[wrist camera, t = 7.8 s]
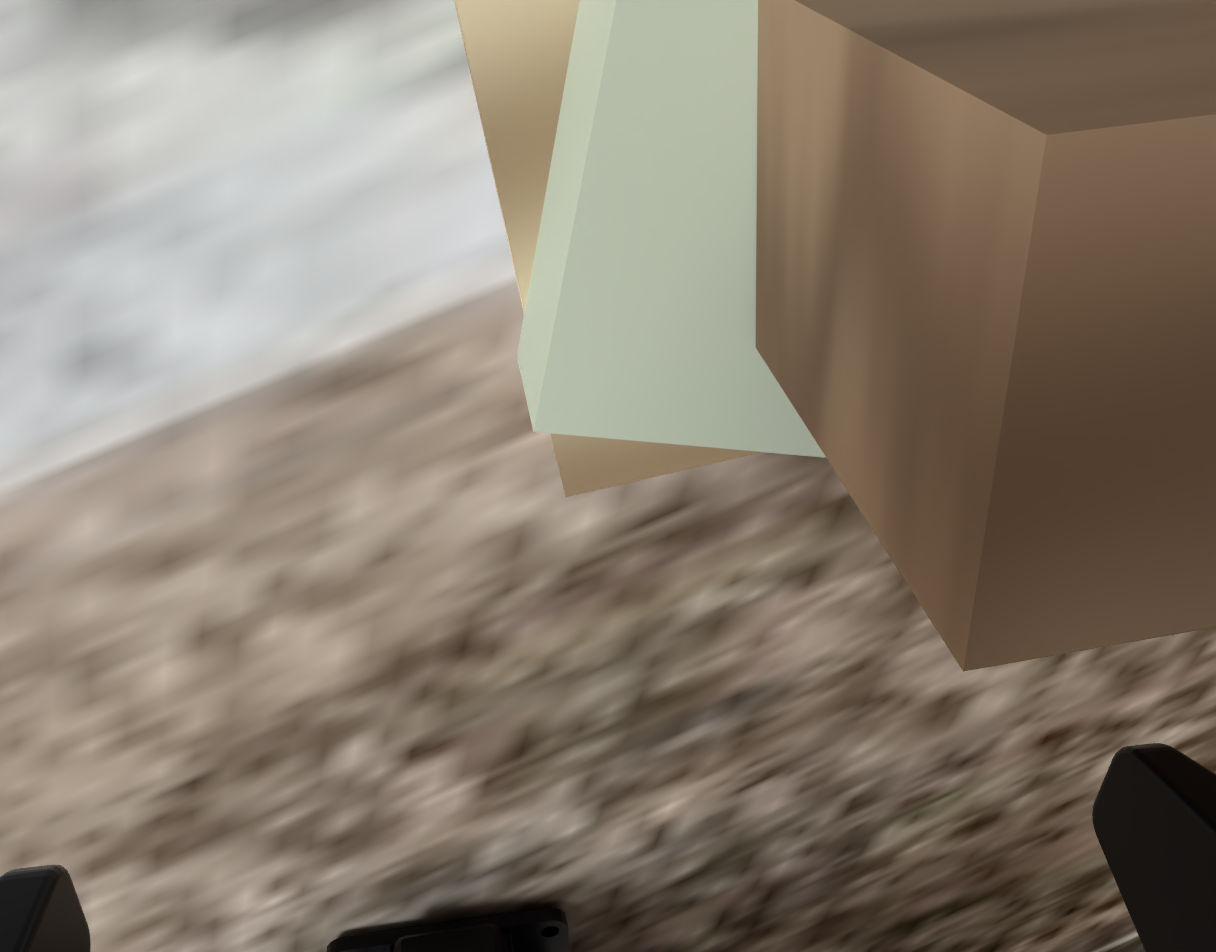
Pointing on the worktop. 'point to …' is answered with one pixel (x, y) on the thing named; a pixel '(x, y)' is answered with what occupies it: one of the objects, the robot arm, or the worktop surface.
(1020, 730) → the worktop surface
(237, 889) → the worktop surface
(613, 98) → the sage slab
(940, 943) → the worktop surface
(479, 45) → the maple slab
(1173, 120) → the walnut block
